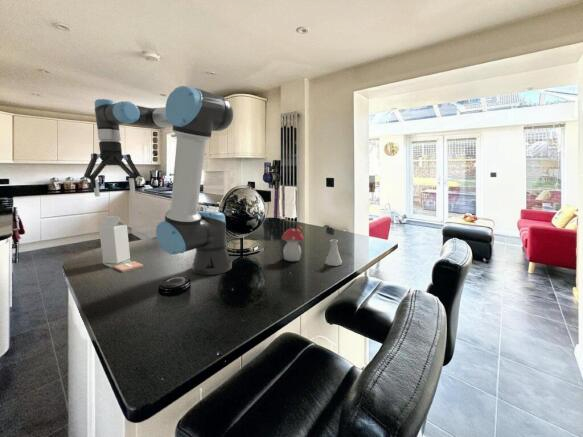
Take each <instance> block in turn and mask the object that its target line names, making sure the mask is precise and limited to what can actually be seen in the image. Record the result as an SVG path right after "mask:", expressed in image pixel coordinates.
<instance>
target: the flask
mask: <svg viewBox="0 0 583 437" xmlns="http://www.w3.org/2000/svg"><path fill="white" fill-rule="evenodd" d="M338 241H339V240H338V239H330V240H329V243H330V248H329V251H328V254H327V257H326V259H325V261H324V265H327V266H331V267H338V266H342V265H343V261H342V258H341V255H340V253H339V248H338V243H339V242H338Z"/></svg>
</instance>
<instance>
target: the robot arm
mask: <svg viewBox="0 0 583 437" xmlns="http://www.w3.org/2000/svg"><path fill="white" fill-rule="evenodd" d="M94 112H95V114H94V115H95V122H96V129H97V136H98V137H97V138H98V139H97V140H99V142H98V146H99V147H98V148H99V153H96V152H95V153H91V154H90V161H89V163H88V166H86V167H87V168H86V169H85V172H84V174H83V178H85V179H88V180H89V181H90V187H91V189H93V192H94V197H100V196H101V194H100V186H99V179H96V178H98V176H99V175H100V173H101V172H102V171H103V170H104V169H105V167H106V166H118V167H120V168H121V169H122V170H123V171H124V172H125V173H126V175H128V176H129V177H130V178H129V177H128V184H129V190H130V191H129V192H130V195H135V194H136V188H135V187H136V186H137V178H138V177H141V174H140V172H139V170H138V168H137V167H136V165H135V164H134V161H133V160H132V155H131V154H129V153H128V154H127V153H126V154H123V153H122V152H123V151H122V143H121V142H120V141H121V132H120V131H121V130H120V125H129V126H138V127H146V128H155V129H166V128H172V132H173V133H174V134H175V136H176V145H175V146H176V147H175V156H174V159H175V160H174V166H173V180H172V191H171V202H170V209H169V210H167V211H165V213H164V214H165V215H164V221H161V222H159V223H158V224H157V226H156V228H155V235H156V241H157V242H158V244H159V246H160V248H161V249H162V250H163V251H164V252H166V253H167V254H168V255H178V254H184V253H186V252H189V251H192V250H195V254H194V259H193V261H192V265H191V267H192V270H191V271H192V272H193V274H195V275H200V276H213V275H214V276H215V275H221V274H224V273H226V272H228V271H231V269H232V267H233V265H232V260H231V257H230V254H229V251H228V248H227V222H226V215H225V214H224V213H223V212H220V211H209V210H208V211H207V210H198V209H199V208H198V207H199V200H200V192H201V190H200V188H201V182H202V174H203V165H204V157H205V148H206V143H207V141H209V140H210V139H211V138H212V131H213V132H221V131H224V130H226V129H227V128H228V127H230V125H231V124H232V122H233V119H234V111H233V107H232V104H231V103H230V101H228V99H227V98H225V97H223V96H222V95H219V94H216V93H212V92H209V91H206V90H203V89H199V88H196V87H194V86H187V85H180V86H177V87H175V88H174V89H173V90H172V91H171V92H170V93H169V95H168V96H167V99H166V103H165V107H146V106H141V105H136V104H135V103H133V102H132V101H128V100H127V101H118V102H117V101H115V100H111V99H108V98H107V99H105V98H102V99H100V98H98V99H95V101H94ZM99 158H100V159H101V162H100V163H99V165H98V166H97V167H96V168H95V165H96V163H97V161H98V160H99ZM123 160H124V161H125V162H126V164H127V165H128V166H127V165H126V164H125V162H124V161H123ZM94 168H95V169H94Z"/></svg>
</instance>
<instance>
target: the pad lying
mask: <svg viewBox="0 0 583 437" xmlns="http://www.w3.org/2000/svg"><path fill="white" fill-rule="evenodd" d="M143 267H144V264H142V263H140V262H138V261H135V260H134V261H133V260H132V261H131V262H128V263H124V264H120V265H116V266H114V267H113V269H114V270H115V269H116V270H117V271H119V272H121V273H126V272H129V271H133V270H136V269H139V268H143Z"/></svg>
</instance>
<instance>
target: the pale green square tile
mask: <svg viewBox="0 0 583 437" xmlns="http://www.w3.org/2000/svg"><path fill="white" fill-rule="evenodd" d="M128 262H132V260H131V259H128V260H125V261H123V262H120V263H118V264H115V263H103V262H102V265H104V266H107V267H109V268H114V266H116V265H120V264H124V263H128Z"/></svg>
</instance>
